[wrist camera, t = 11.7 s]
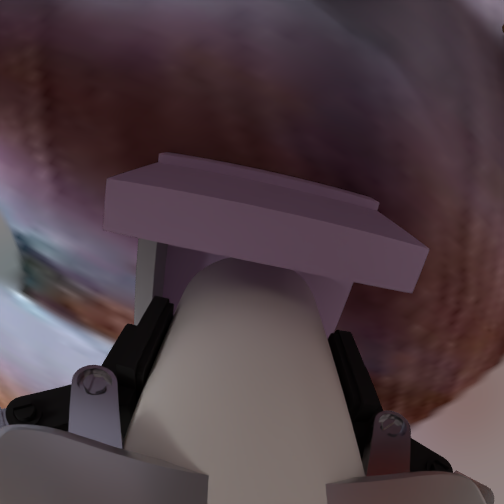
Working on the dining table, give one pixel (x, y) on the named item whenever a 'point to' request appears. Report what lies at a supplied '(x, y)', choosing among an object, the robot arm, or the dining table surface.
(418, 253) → the holder
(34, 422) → the robot arm
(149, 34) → the dining table surface
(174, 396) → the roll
